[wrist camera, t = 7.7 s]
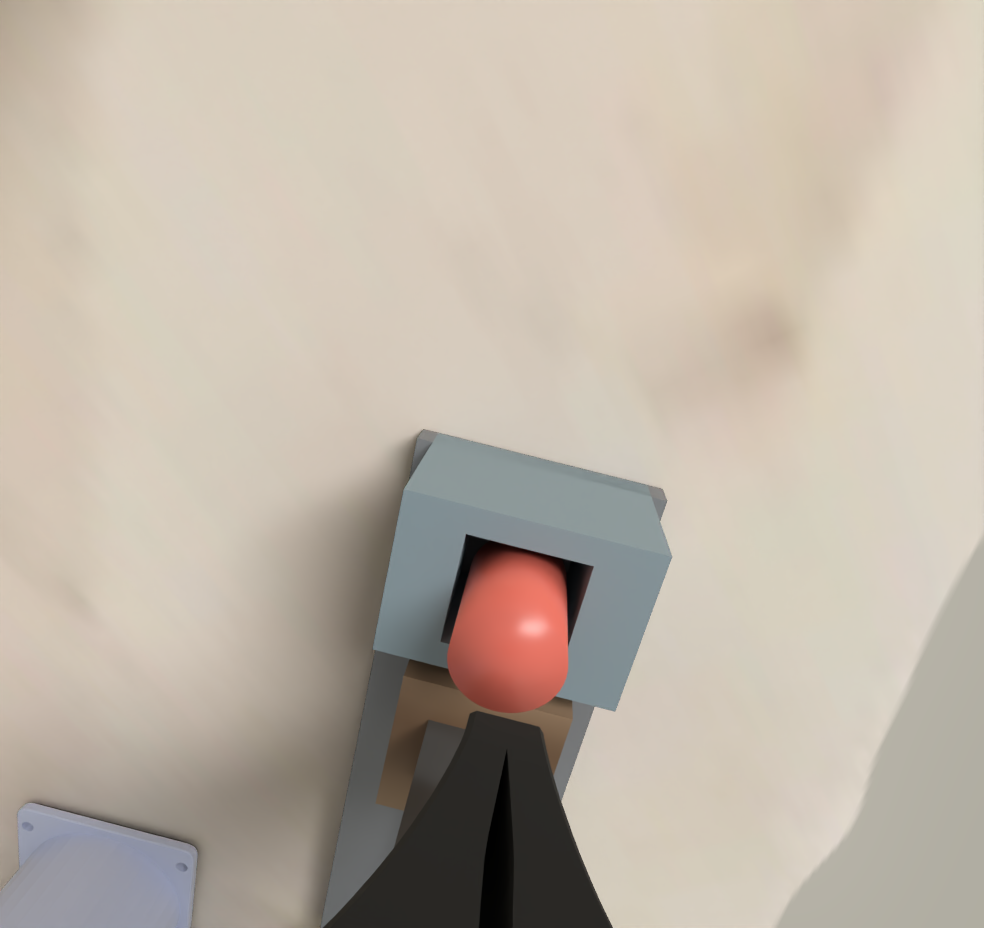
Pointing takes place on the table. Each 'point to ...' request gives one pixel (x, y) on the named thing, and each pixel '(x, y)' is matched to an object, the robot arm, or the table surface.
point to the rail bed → (441, 582)
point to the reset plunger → (511, 630)
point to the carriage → (444, 736)
